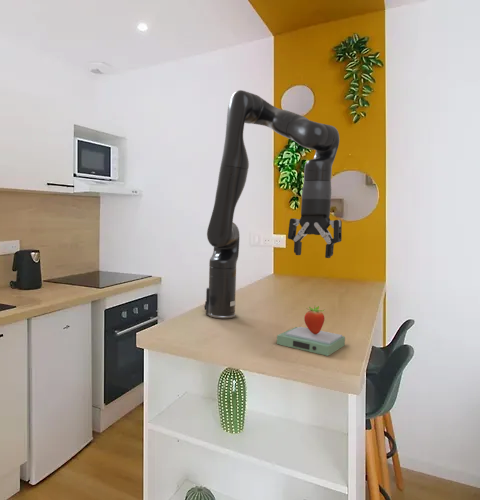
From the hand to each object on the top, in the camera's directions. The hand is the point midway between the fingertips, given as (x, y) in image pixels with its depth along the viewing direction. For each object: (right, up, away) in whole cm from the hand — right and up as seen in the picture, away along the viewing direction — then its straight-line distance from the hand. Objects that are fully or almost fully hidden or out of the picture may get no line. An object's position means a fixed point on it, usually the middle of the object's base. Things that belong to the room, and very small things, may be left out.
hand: (312, 256), depth 117 cm
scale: (-1, -24, -2) cm, 24 cm away
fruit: (-1, -21, -2) cm, 21 cm away
